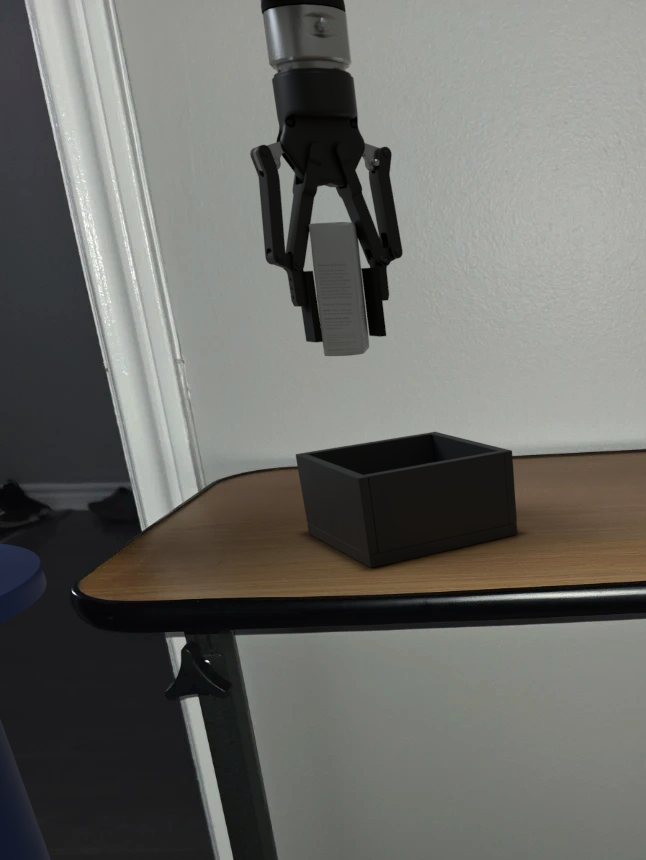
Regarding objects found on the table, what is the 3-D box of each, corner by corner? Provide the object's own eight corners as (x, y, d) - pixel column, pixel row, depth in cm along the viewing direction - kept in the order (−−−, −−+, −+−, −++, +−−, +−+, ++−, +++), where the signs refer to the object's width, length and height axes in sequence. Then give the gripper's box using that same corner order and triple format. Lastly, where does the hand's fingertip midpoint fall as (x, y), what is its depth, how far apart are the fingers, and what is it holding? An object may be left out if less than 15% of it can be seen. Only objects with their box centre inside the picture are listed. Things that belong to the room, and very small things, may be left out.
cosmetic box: (330, 352, 100) (312, 224, 94) (372, 349, 100) (356, 222, 94) (323, 357, 94) (303, 222, 89) (367, 354, 94) (350, 220, 89)
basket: (371, 568, 72) (358, 478, 69) (308, 533, 83) (295, 454, 80) (517, 534, 79) (512, 450, 76) (443, 506, 89) (435, 431, 86)
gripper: (219, 57, 79) (268, 348, 89) (423, 69, 88) (445, 332, 98) (196, 73, 84) (244, 345, 95) (389, 83, 93) (413, 330, 104)
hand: (346, 338), depth 96 cm, fingers closed on cosmetic box, 6 cm apart
